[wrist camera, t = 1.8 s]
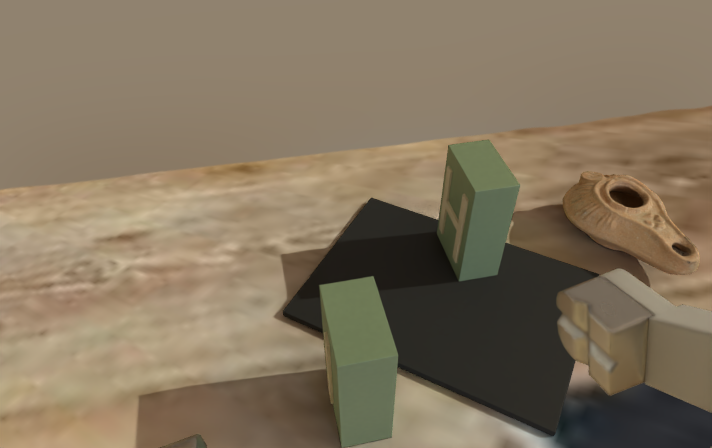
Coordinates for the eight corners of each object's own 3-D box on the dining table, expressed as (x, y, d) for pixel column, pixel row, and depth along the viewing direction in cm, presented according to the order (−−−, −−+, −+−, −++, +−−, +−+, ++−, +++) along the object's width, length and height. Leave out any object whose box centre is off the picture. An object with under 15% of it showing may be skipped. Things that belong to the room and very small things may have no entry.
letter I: (338, 449, 37) (333, 367, 30) (323, 371, 41) (315, 285, 34) (391, 437, 37) (398, 355, 31) (371, 362, 42) (373, 275, 35)
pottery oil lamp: (648, 309, 45) (629, 244, 41) (559, 248, 55) (539, 192, 52) (737, 253, 45) (725, 184, 42) (632, 203, 56) (616, 144, 52)
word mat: (283, 315, 45) (282, 311, 45) (371, 201, 55) (371, 197, 55) (553, 436, 37) (555, 432, 37) (597, 278, 48) (599, 274, 47)
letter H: (456, 282, 47) (472, 192, 40) (434, 234, 51) (445, 145, 44) (497, 275, 47) (520, 185, 40) (472, 227, 51) (489, 139, 45)
